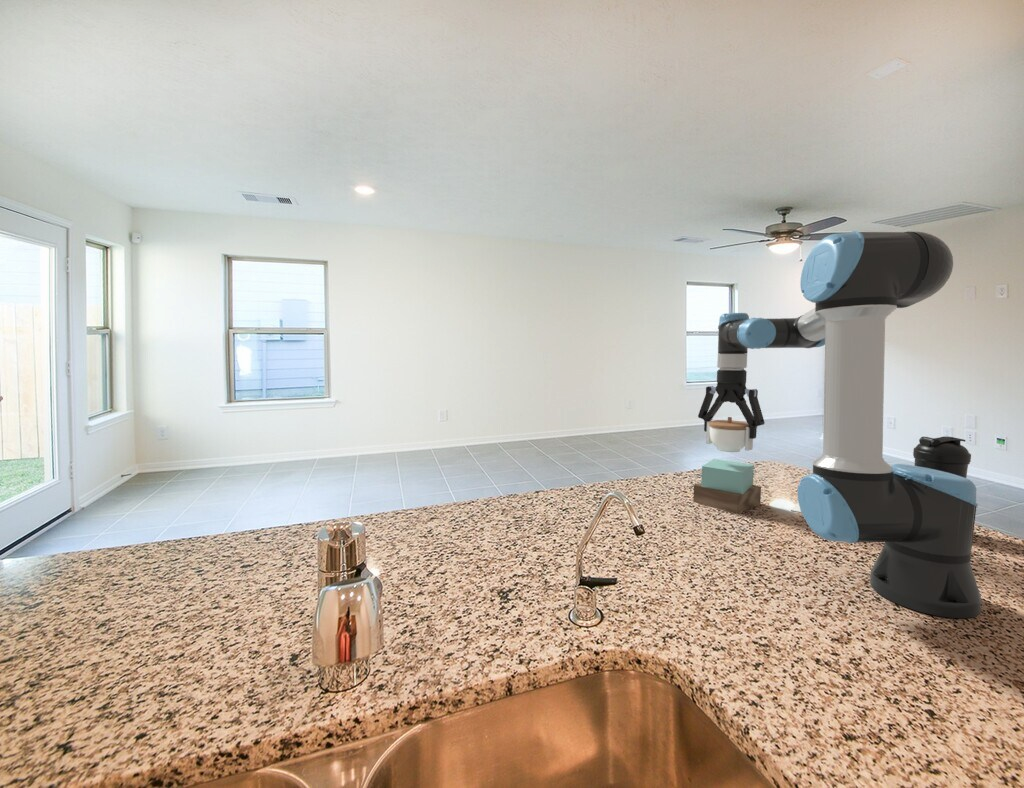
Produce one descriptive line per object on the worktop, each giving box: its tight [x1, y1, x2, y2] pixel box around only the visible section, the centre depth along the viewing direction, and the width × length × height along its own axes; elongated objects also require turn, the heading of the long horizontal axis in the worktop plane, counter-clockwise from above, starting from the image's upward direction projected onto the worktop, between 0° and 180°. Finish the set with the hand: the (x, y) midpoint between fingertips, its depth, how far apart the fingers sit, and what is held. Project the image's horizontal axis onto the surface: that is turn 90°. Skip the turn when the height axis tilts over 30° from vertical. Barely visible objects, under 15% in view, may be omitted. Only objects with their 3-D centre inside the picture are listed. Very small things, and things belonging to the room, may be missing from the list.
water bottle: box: [912, 436, 972, 479], centre depth 114 cm, size 10×10×23 cm
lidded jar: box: [709, 416, 749, 453], centre depth 134 cm, size 11×11×9 cm
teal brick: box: [700, 458, 755, 494], centre depth 136 cm, size 11×11×6 cm
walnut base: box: [692, 482, 762, 515], centre depth 136 cm, size 13×13×5 cm
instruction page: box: [790, 502, 802, 514], centre depth 131 cm, size 14×10×1 cm
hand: (728, 446), depth 135 cm, fingers closed on lidded jar, 11 cm apart
